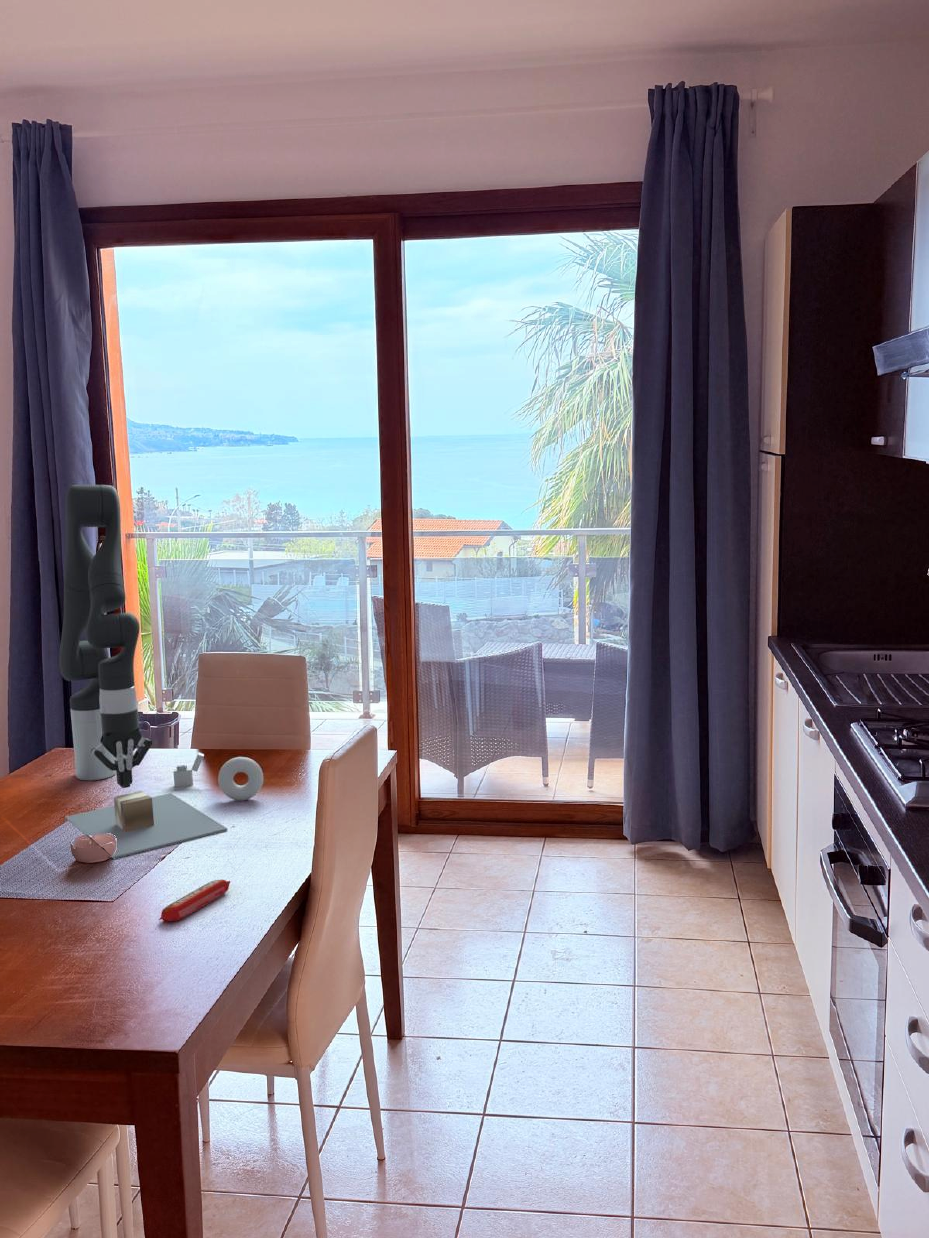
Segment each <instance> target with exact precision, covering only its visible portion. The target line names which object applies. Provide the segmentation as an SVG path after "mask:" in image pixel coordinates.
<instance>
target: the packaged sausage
mask: <svg viewBox="0 0 929 1238" xmlns="http://www.w3.org/2000/svg"><path fill="white" fill-rule="evenodd" d="M230 884H231V880H225V879H214V880H212V881H209V882H207V883H206V884H204V885H202V886H200V887H198V888H196V889H195V890H193V891H190V892H189V893H188V894H186V895H184V896H182V897H181V898H178V899H177V900H175V901H173V902H172V903H170V904H169V905H167V906H165V907H164V908H162V910H161V915H160V918H159V919H158V921H161V920H162V921H163V922H164V923H169V922H175V921H177V922H178V921H179V920H181V919H183V918H185V917H187V916H188V915H189V916H190V915H191V914H192V913H194V912H196V911H198V910H199V909H201V908H202V907H203V906H206V905H207V904H208V903H210V902H213V901H215V900H216V899H218V898H220V897H221V896H222V895H224V894H226V893H227V892H229V891H228V890H229V888H230Z"/></svg>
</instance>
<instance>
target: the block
mask: <svg viewBox="0 0 929 1238" xmlns="http://www.w3.org/2000/svg"><path fill="white" fill-rule="evenodd" d="M152 797H153V796H149V794H147V793H145V792H144V791H142V790H140V791H133V792H129V793H126V794H120V795H115V796H113V803H114V804H113V806H114V808H115V820H116V825H118V826H119V827H120V828H122V829H123V830H124V831H126V832H127V831H132V830H136V829H140V828H144V827H148V826H153V825H154V817H153V804H152Z"/></svg>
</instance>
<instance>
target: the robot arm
mask: <svg viewBox="0 0 929 1238" xmlns="http://www.w3.org/2000/svg"><path fill="white" fill-rule="evenodd" d="M64 502H65V504H64V506H65V510H64V511H65V538H66V539H65V542H66V543H65V544H66V545H65V549H66V551H65V563H64V564H65V565H64V575H63V620H62V621H63V622H62V631H61V638H60V639H61V640H60V647H59V659H58V662H59V670H60V671H59V672H60V675H61V676H62V678H63V679H64V680H65V681H68V682H77V681H83V680H90V679H91V682H90V683H89V684H88V685H87V686H86V687H84V688H83V689H82V690H81V689H80V690H79V691H78V692H75V693H73V694H72V695H71V696H70V698H69V707H70V708H69V709H70V718H71V719H70V720H71V731H72V743H73V751H74V764H75V765H74V767H75V776H76V778H77V779H78V780H81V781H97V780H104V779H107V778H108V779H109V778H110V777H112V776H115V775H116V783H117V785H118V786H120V787H121V788H122V789H126V788H130V787H131V785H132V784H133V769H134V767H136V766H139V765H140V764H141V763H142V761H143V760H144V758H145V757H146V755H147V753H148V751H149V750H150V748H151V747H152V744H153V740H151V739H149V738H147V737H143V734H142V732H141V730H140V722H139V721H140V720H139V719H140V718H139V710H138V709H139V708H138V705H139V702H138V697H137V696H138V695H137V690H136V686H135V671H134V666H135V665H134V662H135V653H136V649H137V644H138V641H139V636H140V623H139V620H138V618H137V617H136V615H135V614H133V613H131V612H119V613H117V612H116V613H109V612H111V611H115V610H118V609H120V608H121V607H123V606H124V605H125V603H126V599H127V597H126V592H125V591H126V590H125V585H124V584H125V583H124V577H123V571H122V569H123V568H122V525H121V524H122V523H121V521H122V520H121V517H122V516H121V503H120V497H119V493H118V491H117V489H116V487H115V486H113V485H108V484H73V485H70V486H68V488H67V490H66V495H65V501H64ZM83 528H105V529H106V530H105V535H104V539H103V540H102V543H101V544H100V547H99V548H98V549H97V551H96V553H95V554H94V552H93V551H92V549H91V548H90V546H89V544H88V542H87V541H86V539H85V537H84V534H83V532H82V530H83ZM84 631H85V637H86V640H81V638H82V636H83V634H84ZM112 648H121V650H120V652H119V653H118V654H116V655H114V656H111V657H109V651H108V649H112ZM136 748H137V749H136Z"/></svg>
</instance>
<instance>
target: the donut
mask: <svg viewBox="0 0 929 1238" xmlns="http://www.w3.org/2000/svg"><path fill="white" fill-rule="evenodd" d="M237 773H244V774H246V775H247V778H248V780H247V782H246V783H245V784H243V785H239V784H237V783H236V782H235V780H234V777H235V775H236V774H237ZM217 782H218V787H219V788H220V790H221V792H222V794H224V795H225V796H226V797H227V798H229V799H231V800H234V801H241V802H242V801H247V800H250V799H252V798H254V797H255V796H256V795H257V794H258V793H259V792H260V791H261V788H262V786H263V785H264V773H263V770H262V768H261V766H260V765H259V764H258V763H257V762H256V761H255V760H254V759H251V758H249V757H246V756H245V757H244V756H237V757H233V758H232V757H231V759H229V760H228V761H226V762H225V763H224V764H223V765H222V766H221V767H220V770H219V772H218V779H217Z"/></svg>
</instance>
